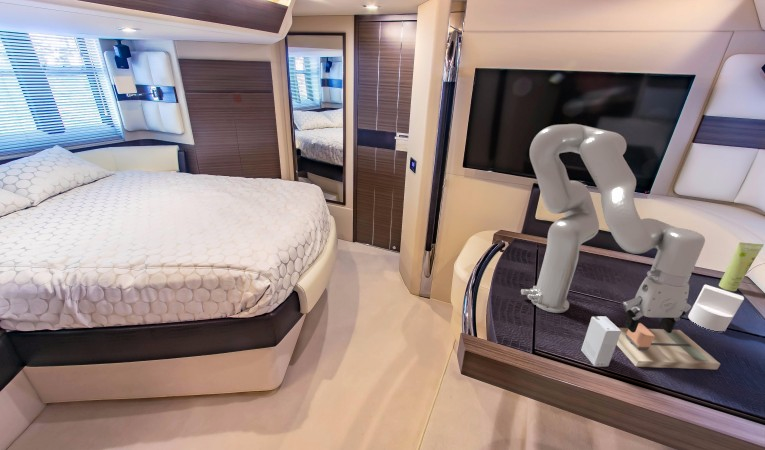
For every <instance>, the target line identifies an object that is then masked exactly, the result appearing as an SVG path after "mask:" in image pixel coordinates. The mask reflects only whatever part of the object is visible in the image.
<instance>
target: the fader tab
mask: <svg viewBox="0 0 765 450" xmlns="http://www.w3.org/2000/svg"><path fill="white" fill-rule="evenodd" d="M648 329H649V328H648V327H646V326H645V325H644V324H643V323H641V322H639V324H638V326H637V329H636V331H635V332H631V331H630V330H629V329H628V331H627V333H626V337H627V338H628V339H629V340H630V341H631V342H632V344H633V345H634V346H635V347H636V348H637V349H649V347H650V345H651V343H652V341H653V339H654V337H655V336H654V335H653V334H652V333H651V332H650V331H649V330H648Z"/></svg>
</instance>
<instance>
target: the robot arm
mask: <svg viewBox="0 0 765 450" xmlns="http://www.w3.org/2000/svg"><path fill="white" fill-rule="evenodd" d="M627 149H628V148H627V141H626V139H625V137H624V136H622V135H621V134H619V133H618V132H615V131H610V130H605V129H601V128H597V127H592V126H588V125H582V124H577V123H568V124H553V125H550V126H547V127H545V128H543V129H542V130H540V131H539V132H538V133H537V134H536V135H535V136H534V138H533V139H532V141H531V144H530V147H529V159H530V163H531V165H532V168H533V171H534V174H535V176H536V180H537V184H538V187H539V191H540V194H541V197H542V200H543V203H544V207H545V209H546V210H547V211H548V212H549V213H551V214H556V215H559V214H564V217H561V218H558V219H557V220H555V221H554V222H553V223H552V224H551V225H550V226H549V229H548V232H547V242H546V247H545V248H546V249H545V254H544V257H543V261H542V265H541V269H540V272H539V277H538V280H537V283H536V285H533V287H532V288H529V289H528V288H521V290H520V293H521V295H522V296H523V295H526V296H527V299H528V300H529V301H530V300H531V301H530V302H531V303H532V305H534V306H535V305H536V307H537V308H539V309H540V310H542V311H546V312H549V313H554V314H561V313H565V312H567V311H568V310H569V308H570V302H569V301H568V299H567V296H568V294H569V290H570V287H571V284H572V280H573V278H574V274H575V271H576V268H577V265H578V262H579V258H580V257H579V256H580V248H581V245H582V244H583V243H586V242H588V241H589V240H592V239H593V238H594V237H595V236H597V234H598V233H599V229H600V222H599V218H598V214H597V211H596V209H595V205H594V201H593V197H592V195H591V192H590V191H589V189H588V188H587V186H586V185H585V184H583V183H582V182H580V181H578V180H570V178H569V175H568V172H567V169H566V166H565V164H564V163H563V162H562V160H561V158H560V154H563V153H569V152H571V153H575V154H578V155H580V158H581V160H582V161H583V163H584V165H585V167H586V169H587V171H588V173H589V174H590V176H591V179H592V180H593V182H594V183H595V185H596V187H597V190H598V191H599V194H600V201H601V208H602V213H603V218H604V220H605V224H606V225H607V227H608V229H609V232H610V233H611V235H612V237H613V239H614V240H615V242H616V243H617V245H618V246H619V247H620V248H621V249H622V250H624V251H625V252H627V253H630V254H644V253H646V252H648V251H650V250H652V249H657V251H656V255H655V257H654V260H653V263H652V266H651V268H650V270H648V271H647V272H646V275H647V276H646V277H645V278H644V280H643V281H642V283H641V284H640V285H639V288H638V290H637V292H636V293H635V297H634V298H632V299H629V300H626V301H623V302H622V306H623V310H624V312H625V314H626V315H627V318H626V321H625V322H624V323H625V324H624V326H625V328H628V329H629V330H630V331H631V332H635V331H636V329H637V326H638V324H639V323H640V320H639V319H641V318H642V317H643V316H644V317H647V318H662V319H661V321H660V324H659V327H660V329H664V330H665V331H666V332H667V333H671V332H672V330H674V327H675V325H676V322H680V320H681V318H682V317H683V316H686V314H687V313H688V311H690V310H691V309H692V308H693V305H690V304H689V303H688V302H687V301H688V298H689V292H690V284H689V281H690V278H691V275H692V273H693V271H694V268H695V266H696V264H697V262H698V260H699V257H700V255H701V252H702V250H703V248H704V246H705V243H706V238H705V236H704V235H703V234H702V233H700V232H697V231H696V230H692V229H687V228H681V227H676V226H674V225H671V224H669V223H666V222H664V221H661V220H658V219H655V218H646V217H645V218H642V219H641V217H640V215H639V212H638V211H637V208H636V204H635V190H636V186H637V179H636V176H635V174H634V173H633V171H632V169H631V168H630V166H629V165H628V162H627V161H626V160H625V158H624V156H623V155H624V154H625V153H626V151H627ZM637 311H638V312H637ZM636 312H637V313H636ZM686 312H687V313H686ZM635 313H636V314H635Z"/></svg>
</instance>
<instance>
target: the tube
mask: <svg viewBox="0 0 765 450" xmlns="http://www.w3.org/2000/svg"><path fill="white" fill-rule="evenodd" d="M763 247H764V243H752V242H738V245H737V247H736V249H735V251H734V253H733V256H732V258H731V259H730V262H729V264H728V266H727V267H726V270H725V272H724V274H723V275H722V277H721V279H720V281H719V283H718V287H719V288H720V289H722V290H725V291H728V292H737V290H738V289H739V286H740V285H741V283H742V282H743V280H744V278H745V276H746V275H747V273H748V271H749V269H750V268H751V267H752V264H753V263H754V262H755V260H756V258H757V256H758V254H759V253H760V252H761V250H762V248H763Z"/></svg>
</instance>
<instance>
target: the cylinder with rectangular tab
mask: <svg viewBox="0 0 765 450" xmlns="http://www.w3.org/2000/svg"><path fill="white" fill-rule="evenodd" d="M744 300H745V297H744V296H743V295H740V294H738V293H734V292H732V291H728V290H725V289H723V288H720V287H715V286H712V285H708V284H704V285H703V286H702V288H701V291H700V293H699V294H698V296H697V299H696V300H695V302H694V303H693V305H692V307H691V308H690V310H689V313H688V315H687V317H688V319H689V320H690V321H691V322H692V323H693V322H694V324H695V323H696V324H697V325H696V324H695V325H696V326H698V325H699V326H698V327H700V326H701V328H702V327H704V328H706V329H705V330H707V329H710V330H714V331H724V332H726V330H727V328H728V326H729V325H730V324H731V322H732V320H733V319H734V317H735V315H736V313H737V312H738V310H739V309H740V306H741V305H742V303H743V302H744ZM704 328H703V329H704ZM710 330H709V331H710ZM714 331H713V332H714Z"/></svg>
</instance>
